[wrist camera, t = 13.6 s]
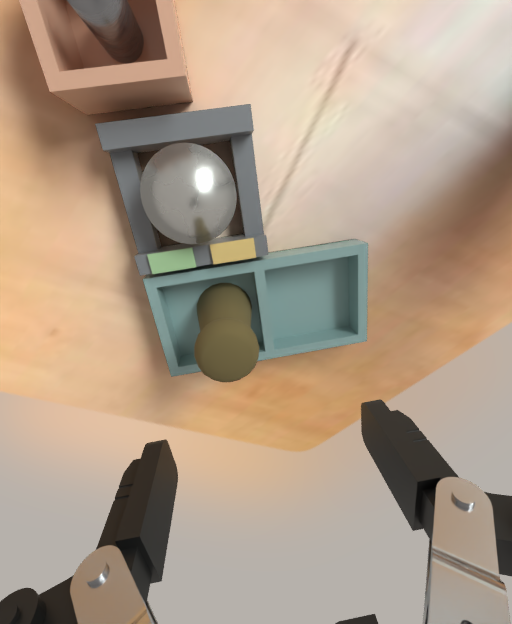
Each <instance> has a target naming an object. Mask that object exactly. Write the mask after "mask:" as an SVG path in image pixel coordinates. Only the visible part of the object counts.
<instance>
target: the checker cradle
mask: <svg viewBox="0 0 512 624" xmlns="http://www.w3.org/2000/svg"><path fill="white" fill-rule="evenodd" d="M95 125H96V128H97V132H98V135H99V138H100V142H101V145H102V149H103V151H106V152H108V153H110V156H111V160H112V163H113V167H114V170H115V174H116V177H117V181H118V184H119V187H120V191H121V194H122V198H123V201H124V205H125V208H126V212H127V215H128V219H129V222H130V226H131V229H132V233H133V236H134V239H135V243H136V246H137V250H138V254H137V255H135V256H134V257H135V260H136V264H137V267H138V271H139V274H140V275H147V274H157V273H164V272H170V271H176V270H182V269H188V268H195V267H197V266H203V265H209V264H220V263H226V262H232V261H238V260H245V259H251V258H256V257H259V256H265V255H268V247H267V239H266V235H265V234H264V231H263V223H262V215H261V207H260V198H259V190H258V182H257V174H256V166H255V157H254V149H253V141H252V132H253V131H254V129H253V121H252V113H251V104H246V105H239V106H231V107H223V108H215V109H207V110H200V111H192V112H184V113H176V114H168V115H161V116H153V117H145V118H137V119H129V120H121V121H114V122H106V123H98V124H95ZM224 141H230V144H231V151H232V158H233V165H234V171H235V178H236V185H237V192H238V199H239V205H240V212H241V219H242V226H243V233H244V234H240V235H234V236H227V237H221V238H215V239H212V240H210V241H207V242H205V243H200V244H185V243H182V244H176V245H169V246H163V247H161V243H160V239H159V235H158V231H157V228H156V227H155V226H154V225H153V224H152V223H151V221H150V220H149V218H148V217H147V215H146V213H145V210H144V208H143V205H142V200H141V194H140V184H141V178H142V174H143V173H142V169H141V165H140V161H139V157H138V153H143V152H150V151H158V150H161V149H163V148H164V147H166V146H169V145H172V144H176V143H193V144H197V145H202V144H210V143H217V142H224Z"/></svg>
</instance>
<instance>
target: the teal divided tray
mask: <svg viewBox="0 0 512 624" xmlns="http://www.w3.org/2000/svg"><path fill="white" fill-rule="evenodd" d="M143 282H144V285H145V289H146V292H147V295H148V299H149V302H150V306H151V309H152V312H153V316H154V319H155V323H156V326H157V330H158V333H159V336H160V340H161V343H162V347H163V350H164V353H165V357H166V360H167V364H168V367H169V371H170V374H171V377H173V376H178V375H184V374H189V373H195V372H200V371H201V370H200V369H199V367H198V365H197V362H196V359H195V357H194V346H195V342H196V339H197V336H198V334H199V333H200V327H199V321H198V316H197V303H198V300H199V297H200V295H201V294H202V293H203V292H204V290H205V289H207V288H209V287H210V286H212V285H214V284H218V283H232V284H234V285H237V286H239V287H240V288H242V289H243V290H244V291H245V292H246V293H247V295H248V296H249V297H250V300H251V304H252V313H251V329H252V330H253V332H254V333H255V335H256V337H257V340H258V344H259V357H258V360H257V361H261V360H266V359H272V358H277V357H283V356H288V355H294V354H299V353H305V352H310V351H316V350H321V349H327V348H332V347H337V346H343V345H348V344H354V343H359V342H365V341H367V283H368V243H366V242H363V241H360V240H357V239H351V240H345V241H339V242H332V243H326V244H320V245H314V246H307V247H301V248H295V249H289V250H282V251H276V252H270V253H268V255H265V256H259V257H256V258H251V259H245V260H238V261H232V262H226V263H220V264H209V265H203V266H197V267H195V268H188V269H182V270H176V271H170V272H164V273H157V274H147V275H146V276H145V277H144V279H143Z"/></svg>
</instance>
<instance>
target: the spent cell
mask: <svg viewBox="0 0 512 624" xmlns="http://www.w3.org/2000/svg"><path fill="white" fill-rule="evenodd" d="M67 1H68V2H69V4H70V5H71V6H72V8H73V9H74V10H75V12H76V13H77V14H78V15H79V17H80V18H81V19H82V21H83V22H84V23H85V24H86V26H87V27H88V28H89V30H90V31H91V32H92V33H93V35H94V36H95V37H96V39H97V40H98V41H99V43H100V44H101V45H102V46H103V48H104V49H105V50H106V52H107V53H108V54H109V55H110V56H111V57H112V58H113V59H114V60H116V61H118V62H120V63H125V64H129V63H132V62H134V61H136V60H137V59H138V58H139V57H140V55H141V53H142V51H143V46H144V39H143V34H142V31H141V29H140V26H139V24H138V22H137V20H136V18H135V16H134V14H133V11H132V9H131V7H130V5H129V3H128V1H127V0H67Z"/></svg>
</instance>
